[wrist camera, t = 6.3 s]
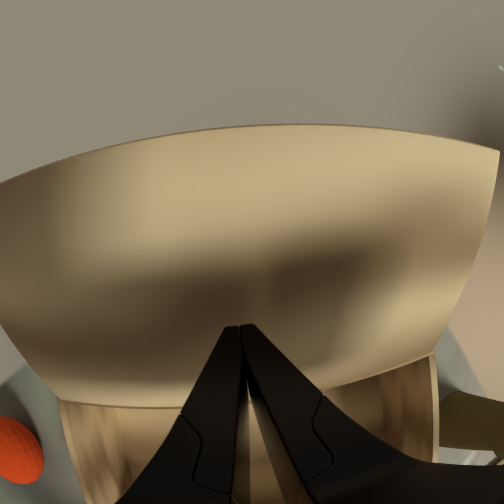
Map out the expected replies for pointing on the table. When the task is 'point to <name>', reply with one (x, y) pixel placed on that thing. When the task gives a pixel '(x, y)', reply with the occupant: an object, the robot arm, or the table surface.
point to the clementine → (19, 452)
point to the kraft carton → (250, 430)
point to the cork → (471, 423)
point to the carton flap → (238, 254)
